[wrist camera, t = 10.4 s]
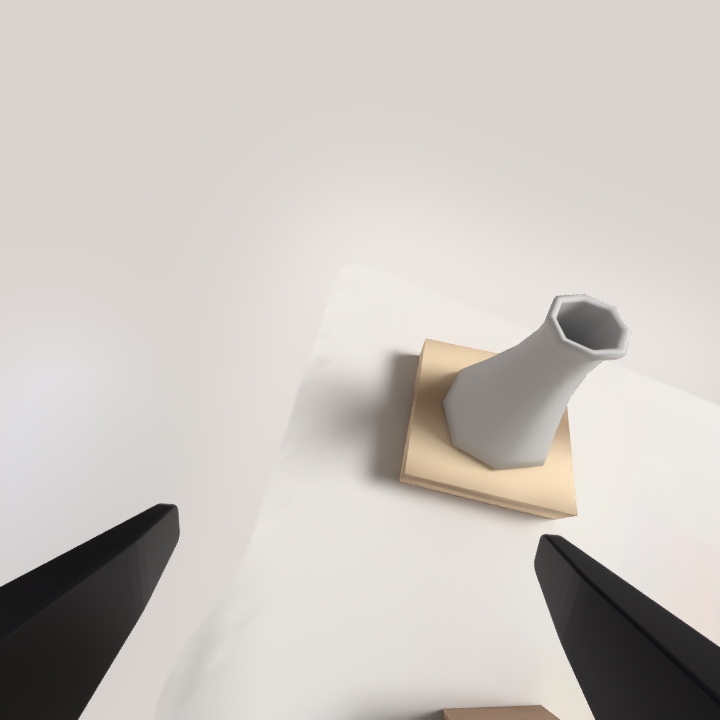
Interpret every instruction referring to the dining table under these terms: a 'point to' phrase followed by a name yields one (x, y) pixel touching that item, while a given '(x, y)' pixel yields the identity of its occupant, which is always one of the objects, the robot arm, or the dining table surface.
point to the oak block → (461, 470)
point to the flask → (532, 383)
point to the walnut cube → (499, 713)
